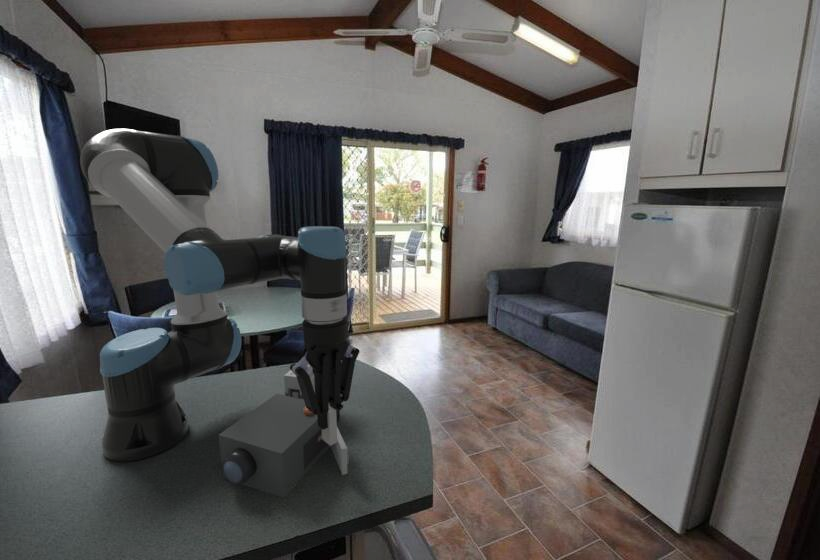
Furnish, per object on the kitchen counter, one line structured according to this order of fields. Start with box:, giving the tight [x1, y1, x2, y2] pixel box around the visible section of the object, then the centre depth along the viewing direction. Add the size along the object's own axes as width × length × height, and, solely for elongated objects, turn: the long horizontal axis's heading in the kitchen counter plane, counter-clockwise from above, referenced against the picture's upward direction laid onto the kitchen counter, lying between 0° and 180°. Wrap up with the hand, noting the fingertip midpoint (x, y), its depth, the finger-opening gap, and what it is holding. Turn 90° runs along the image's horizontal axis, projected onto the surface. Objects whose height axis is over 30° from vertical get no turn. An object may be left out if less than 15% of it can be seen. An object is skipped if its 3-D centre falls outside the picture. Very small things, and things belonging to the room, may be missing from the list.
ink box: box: [283, 364, 315, 400], centre depth 90 cm, size 9×5×15 cm, turn 168°
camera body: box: [218, 393, 331, 499], centre depth 72 cm, size 15×19×10 cm
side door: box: [330, 426, 350, 476], centre depth 73 cm, size 9×2×6 cm, turn 25°
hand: (329, 440), depth 68 cm, fingers closed
